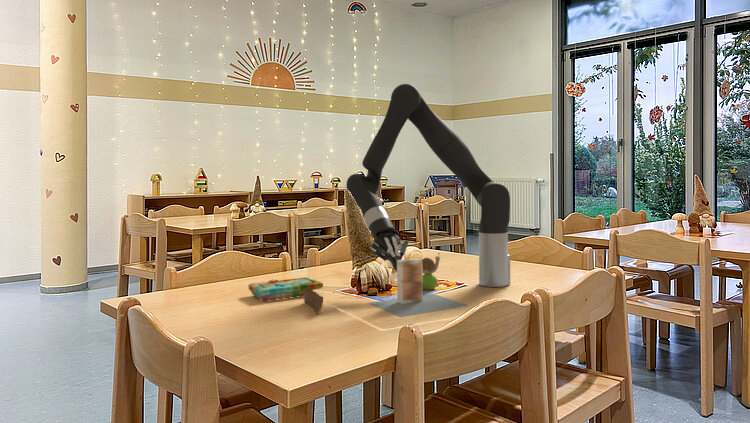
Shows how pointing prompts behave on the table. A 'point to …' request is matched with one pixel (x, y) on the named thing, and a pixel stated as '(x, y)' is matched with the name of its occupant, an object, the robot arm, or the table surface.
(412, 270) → the picture domino
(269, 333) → the table surface
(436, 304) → the felt mat
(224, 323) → the table surface
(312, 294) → the wood plank
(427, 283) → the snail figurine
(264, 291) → the puzzle game
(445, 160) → the robot arm
